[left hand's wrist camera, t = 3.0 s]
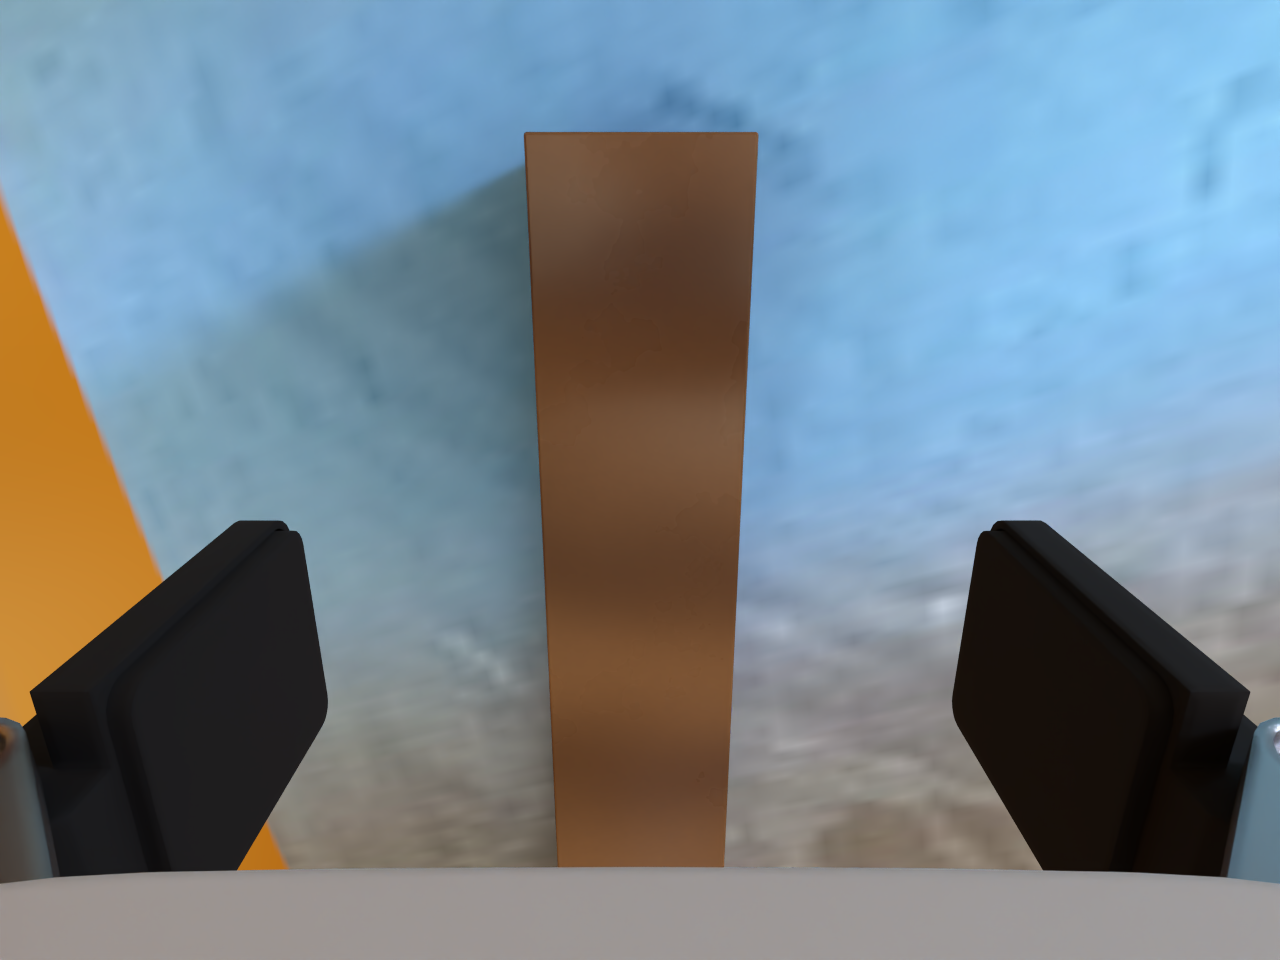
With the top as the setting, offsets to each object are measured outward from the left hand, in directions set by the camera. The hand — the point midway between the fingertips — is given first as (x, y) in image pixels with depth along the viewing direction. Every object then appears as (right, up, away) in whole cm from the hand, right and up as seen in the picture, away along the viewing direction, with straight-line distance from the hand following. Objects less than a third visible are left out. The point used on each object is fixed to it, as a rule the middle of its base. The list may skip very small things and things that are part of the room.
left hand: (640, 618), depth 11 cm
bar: (0, -12, +21) cm, 24 cm away
